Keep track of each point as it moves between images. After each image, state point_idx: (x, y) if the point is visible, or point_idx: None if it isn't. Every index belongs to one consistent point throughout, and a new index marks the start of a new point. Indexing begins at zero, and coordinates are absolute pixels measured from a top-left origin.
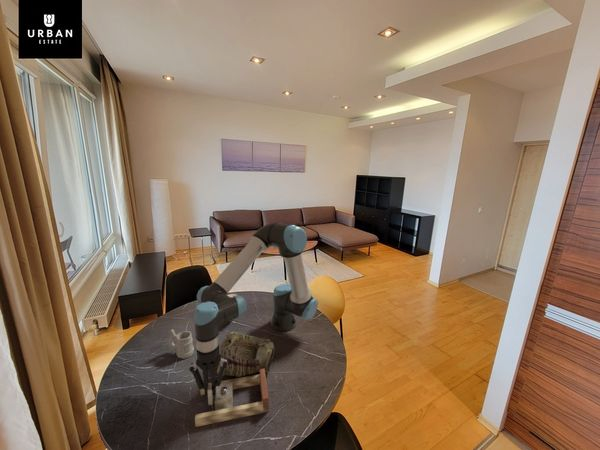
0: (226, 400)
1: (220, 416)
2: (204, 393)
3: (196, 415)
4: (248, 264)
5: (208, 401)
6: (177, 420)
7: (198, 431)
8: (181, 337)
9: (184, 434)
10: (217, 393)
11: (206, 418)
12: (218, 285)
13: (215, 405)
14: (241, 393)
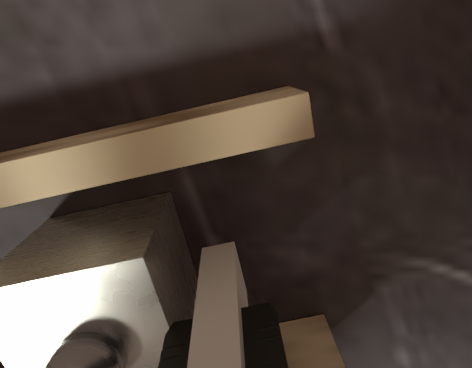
0: (30, 269)
1: (79, 140)
2: (300, 326)
3: (302, 126)
4: None
5: (232, 263)
6: (439, 139)
7: (251, 49)
8: None
9: (357, 24)
10: (149, 334)
11: (199, 114)
12: None
13: (150, 228)
14: None
